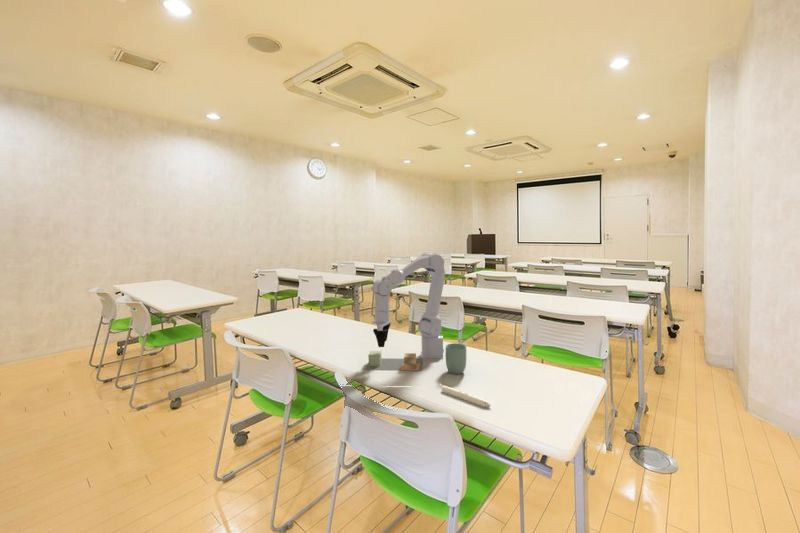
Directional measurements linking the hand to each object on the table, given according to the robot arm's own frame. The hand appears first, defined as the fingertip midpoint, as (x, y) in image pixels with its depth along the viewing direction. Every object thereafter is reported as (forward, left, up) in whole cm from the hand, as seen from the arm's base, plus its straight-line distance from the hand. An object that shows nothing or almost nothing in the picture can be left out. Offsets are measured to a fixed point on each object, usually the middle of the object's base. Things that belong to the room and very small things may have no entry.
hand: (382, 343), depth 143 cm
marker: (-30, +27, -10) cm, 42 cm away
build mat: (-5, -1, -9) cm, 10 cm away
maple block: (-11, +2, -8) cm, 14 cm away
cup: (-29, +5, -9) cm, 31 cm away
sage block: (+3, -1, -9) cm, 9 cm away
